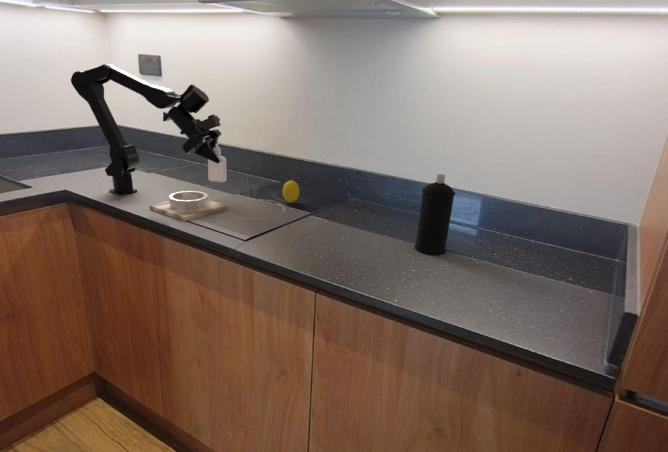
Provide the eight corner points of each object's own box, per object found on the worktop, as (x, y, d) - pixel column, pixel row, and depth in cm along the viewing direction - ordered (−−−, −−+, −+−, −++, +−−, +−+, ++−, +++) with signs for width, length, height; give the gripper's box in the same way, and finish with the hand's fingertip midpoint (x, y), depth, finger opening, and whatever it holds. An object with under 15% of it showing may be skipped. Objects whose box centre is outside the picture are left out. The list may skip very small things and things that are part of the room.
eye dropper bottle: (217, 183, 135) (216, 146, 131) (206, 180, 138) (205, 143, 134) (228, 181, 138) (228, 144, 134) (217, 178, 141) (216, 142, 137)
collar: (162, 205, 128) (161, 195, 127) (191, 198, 137) (191, 189, 136) (185, 213, 123) (185, 203, 122) (215, 205, 132) (215, 195, 131)
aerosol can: (440, 258, 106) (452, 180, 100) (409, 250, 110) (419, 174, 104) (450, 248, 113) (462, 174, 106) (420, 240, 117) (430, 169, 110)
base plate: (149, 209, 128) (149, 205, 128) (193, 198, 141) (193, 195, 140) (184, 221, 120) (184, 217, 120) (227, 209, 133) (227, 205, 132)
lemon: (296, 206, 140) (297, 182, 137) (280, 204, 141) (280, 180, 138) (300, 201, 145) (301, 179, 142) (285, 200, 146) (285, 177, 143)
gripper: (190, 108, 122) (228, 150, 125) (215, 104, 139) (247, 141, 142) (165, 133, 125) (203, 173, 128) (193, 126, 143) (225, 161, 145)
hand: (221, 161), depth 136 cm, fingers closed on eye dropper bottle, 3 cm apart
